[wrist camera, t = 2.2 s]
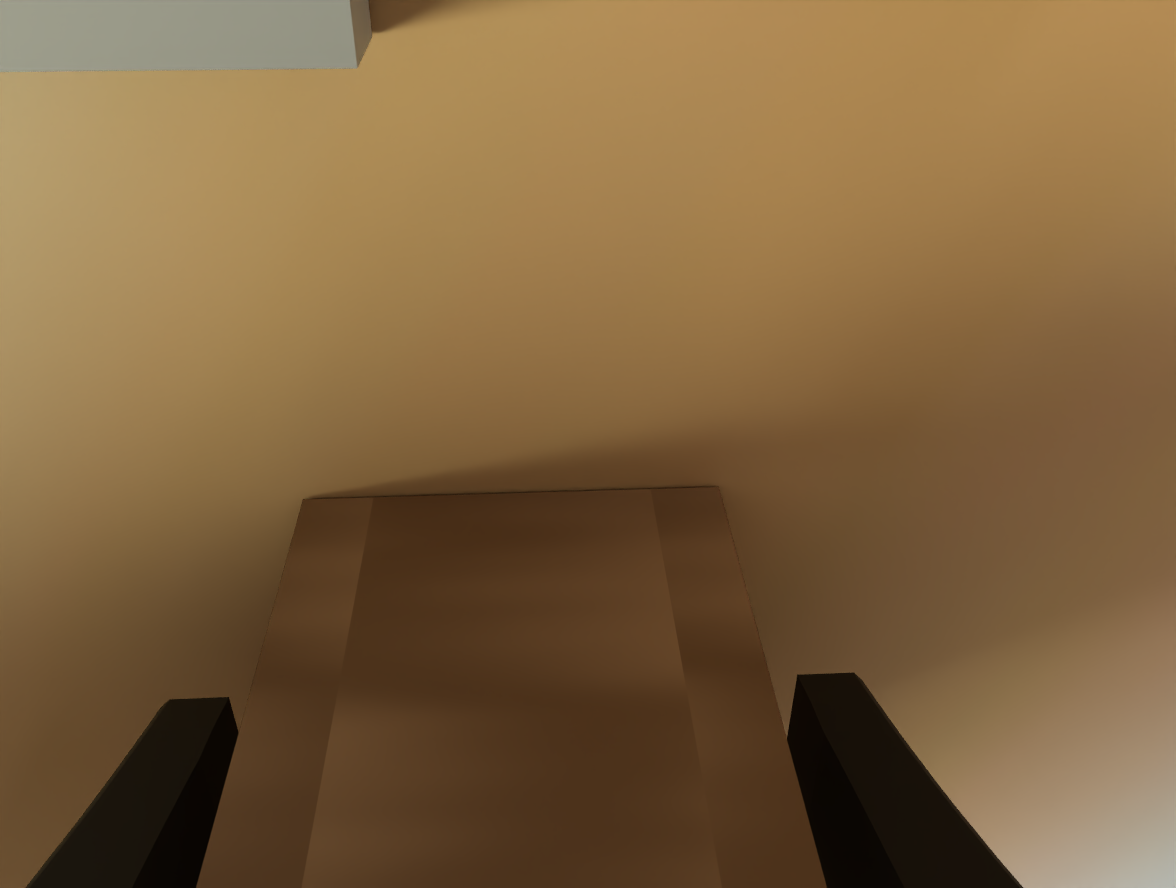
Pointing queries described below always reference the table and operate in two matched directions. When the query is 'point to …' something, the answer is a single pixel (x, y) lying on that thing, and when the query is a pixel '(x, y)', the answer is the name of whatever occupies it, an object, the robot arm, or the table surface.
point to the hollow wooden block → (512, 704)
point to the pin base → (182, 34)
